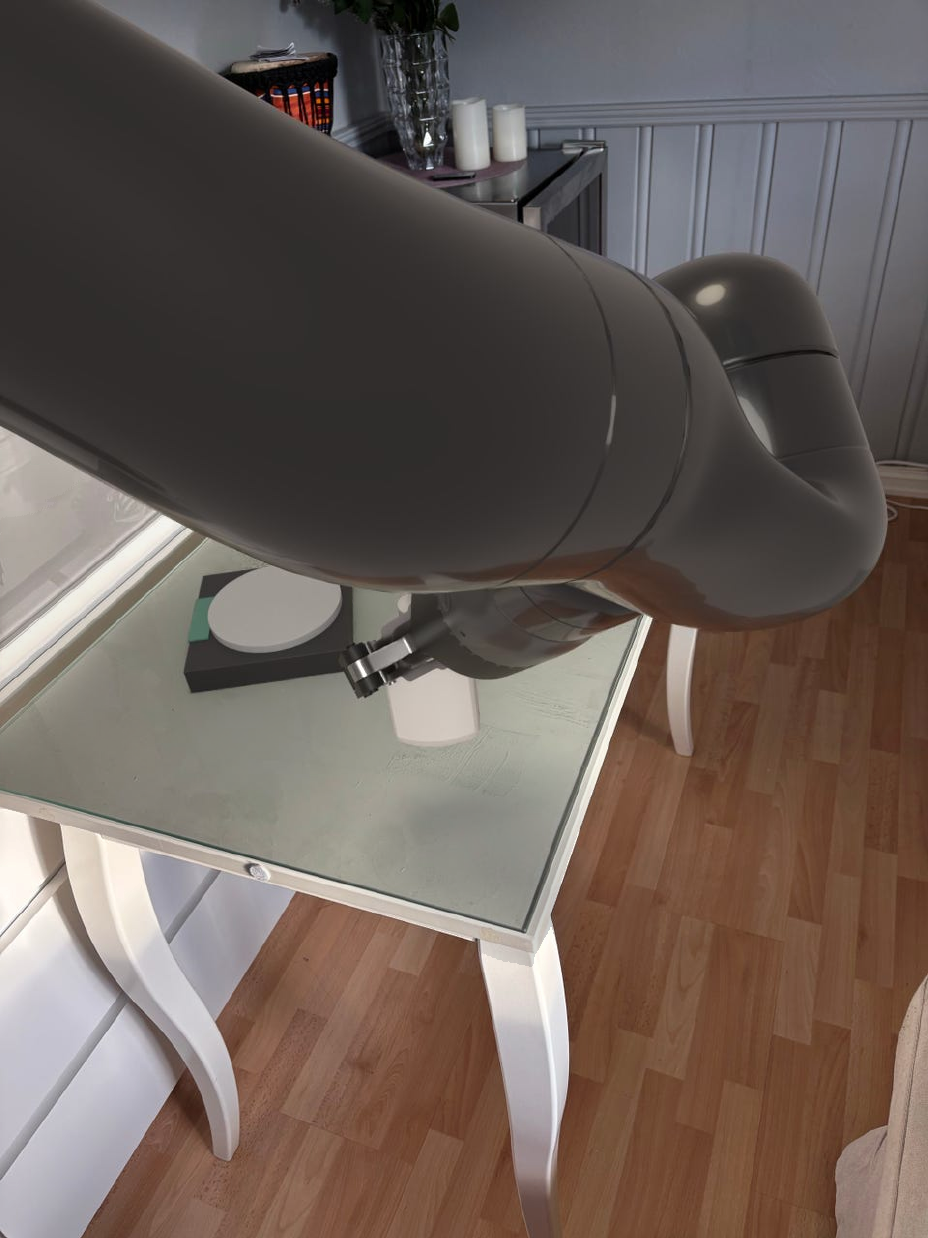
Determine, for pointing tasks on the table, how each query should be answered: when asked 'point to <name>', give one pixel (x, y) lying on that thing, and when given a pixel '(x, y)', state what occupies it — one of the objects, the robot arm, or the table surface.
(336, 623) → the scale
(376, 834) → the table surface
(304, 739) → the table surface
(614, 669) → the table surface
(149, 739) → the table surface
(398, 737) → the eye dropper bottle
